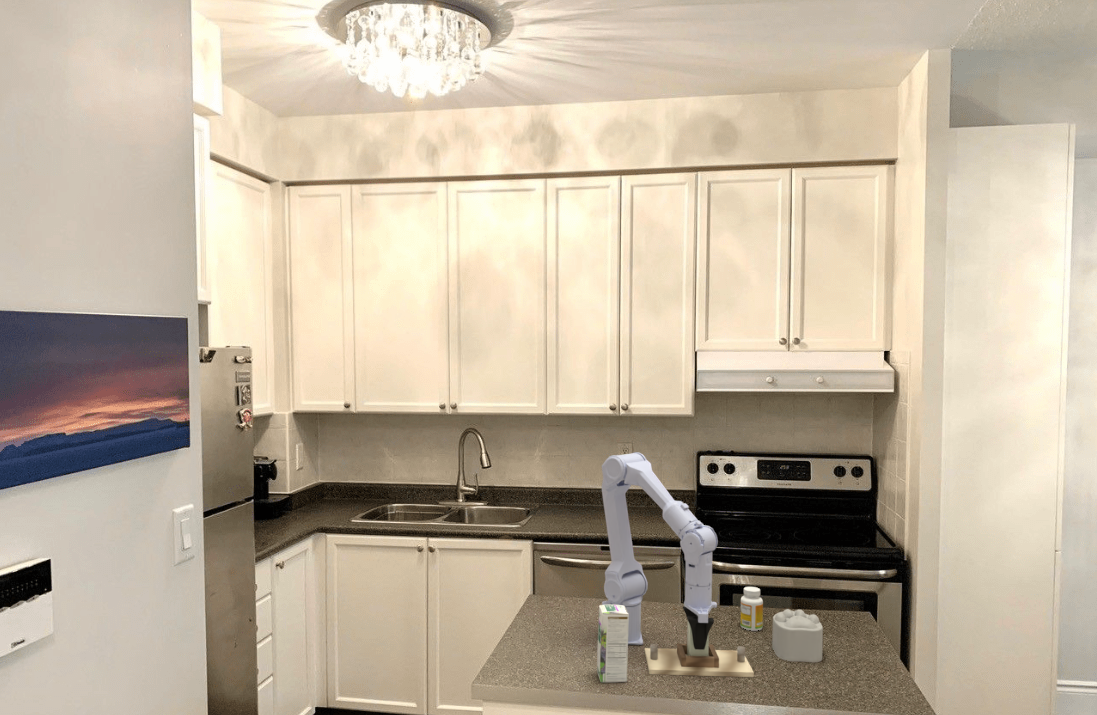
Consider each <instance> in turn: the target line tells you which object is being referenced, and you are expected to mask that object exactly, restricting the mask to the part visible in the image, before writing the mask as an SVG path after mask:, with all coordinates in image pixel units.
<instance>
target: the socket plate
mask: <svg viewBox="0 0 1097 715" xmlns="http://www.w3.org/2000/svg"><path fill="white" fill-rule="evenodd" d="M644 653H645V654H644V656H645V660H646V665H647V668H648V669H647V670H648V674H649V675H659V676H660V675H665V676H666V675H667V676H694V677H695V676H700V677H702V676H703V677H734V678H755V672H754V670H753V668H752V666H751V665H750V662H749V661H748V659H747V657H746V647H745V646H742V645H738V646H737V649H736V650H733V649H727V650H726V649H716V648H715V646H714V644H713V643H712V644H710V643H709V650H708V656H687V643H676V648H663V647H662V648H660V647H659V644H657V643H650V647H644Z"/></svg>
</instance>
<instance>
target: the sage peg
mask: <svg viewBox="0 0 1097 715" xmlns="http://www.w3.org/2000/svg"><path fill="white" fill-rule="evenodd" d="M709 637H710V632H709V633H708V637H707V641H706V646H705V649H704V650H698V649H695V648H694V644H693V637H692V631H691V626H690V624H689V621H688V620H687V637H686V638H687V639H686V640H687V643H686V644H687V656H708V650H709V644H710V640H709V639H710V638H709Z"/></svg>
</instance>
